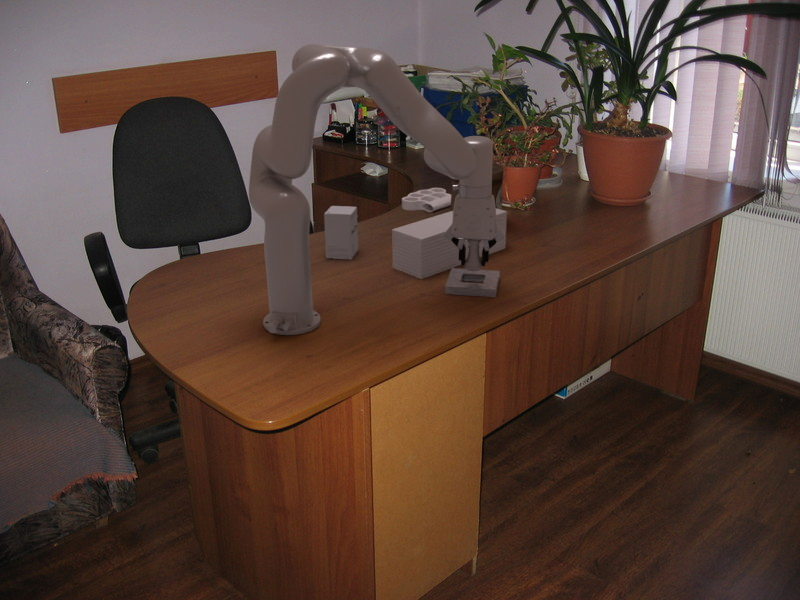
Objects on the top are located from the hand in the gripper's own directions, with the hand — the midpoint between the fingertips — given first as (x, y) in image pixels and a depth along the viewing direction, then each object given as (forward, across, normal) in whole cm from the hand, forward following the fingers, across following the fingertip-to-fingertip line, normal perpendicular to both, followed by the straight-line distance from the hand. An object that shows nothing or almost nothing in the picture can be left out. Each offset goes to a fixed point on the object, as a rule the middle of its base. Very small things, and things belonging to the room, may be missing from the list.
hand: (473, 263), depth 198 cm
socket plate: (+6, 0, 0) cm, 6 cm away
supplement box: (+6, -37, +16) cm, 41 cm away
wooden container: (+6, -4, +44) cm, 45 cm away
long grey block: (+6, -8, +18) cm, 21 cm away
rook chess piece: (+2, 0, 0) cm, 2 cm away
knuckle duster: (+7, -22, +65) cm, 69 cm away
